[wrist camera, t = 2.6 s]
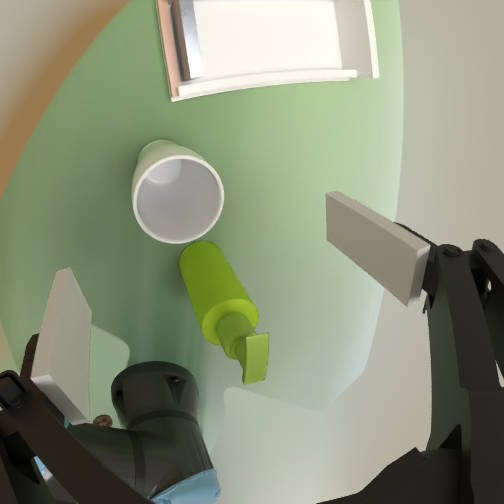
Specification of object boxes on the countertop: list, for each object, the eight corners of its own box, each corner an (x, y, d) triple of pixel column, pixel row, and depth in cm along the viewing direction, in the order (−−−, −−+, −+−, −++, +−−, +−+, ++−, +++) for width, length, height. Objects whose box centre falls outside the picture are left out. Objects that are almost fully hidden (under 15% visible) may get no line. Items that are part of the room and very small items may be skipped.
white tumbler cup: (134, 194, 35) (138, 252, 22) (128, 136, 32) (126, 160, 19) (191, 186, 37) (227, 238, 25) (188, 129, 34) (225, 149, 21)
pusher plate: (181, 81, 30) (191, 78, 25) (169, 7, 25) (177, -9, 20) (192, 79, 30) (204, 76, 25) (180, 6, 26) (191, -11, 21)
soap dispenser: (223, 231, 41) (294, 331, 25) (222, 277, 44) (284, 386, 28) (177, 235, 39) (221, 346, 23) (180, 283, 42) (222, 401, 26)
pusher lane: (171, 101, 32) (179, 102, 26) (154, -3, 25) (161, -24, 19) (345, 80, 37) (379, 81, 31) (334, -7, 30) (367, -17, 25)
